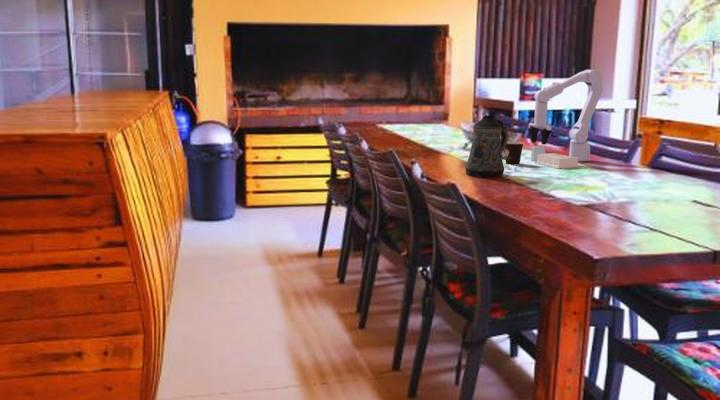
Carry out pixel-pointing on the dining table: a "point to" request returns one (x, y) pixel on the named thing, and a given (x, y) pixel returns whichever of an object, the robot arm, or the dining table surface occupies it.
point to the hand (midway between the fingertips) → (538, 143)
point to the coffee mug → (513, 152)
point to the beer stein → (487, 149)
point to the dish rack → (557, 160)
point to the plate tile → (537, 152)
